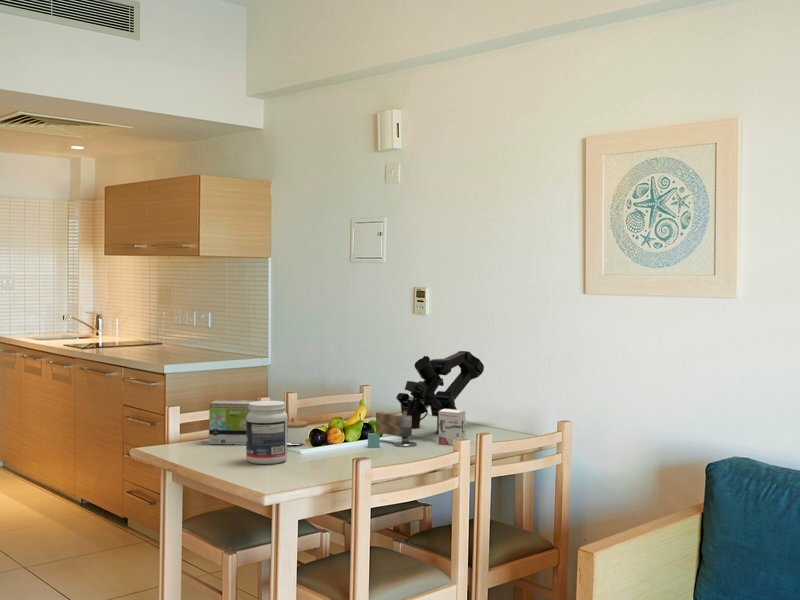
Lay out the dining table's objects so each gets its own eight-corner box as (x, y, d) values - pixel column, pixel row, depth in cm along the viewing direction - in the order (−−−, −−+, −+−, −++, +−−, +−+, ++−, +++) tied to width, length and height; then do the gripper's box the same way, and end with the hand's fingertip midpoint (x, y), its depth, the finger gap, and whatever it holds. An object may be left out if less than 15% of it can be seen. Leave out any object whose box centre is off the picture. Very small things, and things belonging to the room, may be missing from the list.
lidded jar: (305, 441, 307) (305, 415, 307) (310, 446, 297) (310, 419, 297) (275, 442, 305) (275, 416, 304) (279, 448, 294) (279, 420, 294)
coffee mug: (396, 426, 342) (396, 401, 342) (416, 425, 345) (416, 400, 345) (409, 431, 331) (409, 404, 331) (429, 429, 335) (429, 403, 335)
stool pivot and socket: (371, 442, 306) (371, 429, 306) (417, 443, 304) (417, 430, 304) (366, 447, 295) (366, 434, 295) (415, 448, 293) (415, 435, 293)
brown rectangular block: (414, 436, 300) (414, 416, 300) (405, 437, 297) (405, 417, 297) (383, 431, 312) (383, 411, 312) (374, 432, 309) (374, 412, 309)
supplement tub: (252, 456, 278) (252, 399, 278) (291, 457, 277) (292, 400, 277) (240, 464, 265) (241, 405, 265) (282, 465, 264) (282, 405, 264)
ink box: (437, 444, 302) (437, 410, 302) (443, 442, 307) (443, 408, 307) (460, 446, 298) (460, 411, 298) (466, 444, 303) (466, 410, 303)
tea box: (208, 445, 299) (208, 402, 299) (213, 440, 309) (213, 399, 309) (252, 445, 300) (252, 402, 300) (256, 440, 310) (256, 399, 310)
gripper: (399, 371, 321) (377, 403, 313) (436, 374, 307) (413, 408, 300) (414, 390, 326) (393, 422, 319) (451, 394, 313) (429, 428, 305)
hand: (407, 420), depth 311 cm, fingers closed
